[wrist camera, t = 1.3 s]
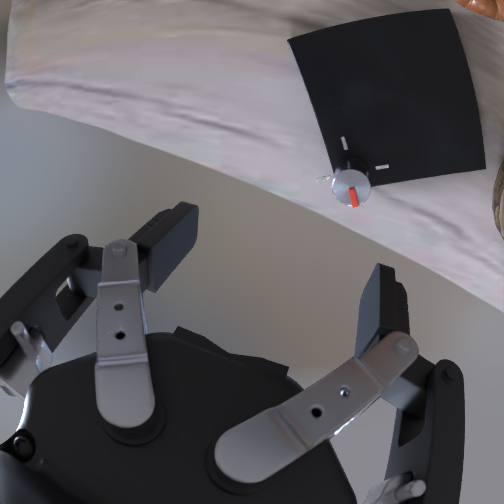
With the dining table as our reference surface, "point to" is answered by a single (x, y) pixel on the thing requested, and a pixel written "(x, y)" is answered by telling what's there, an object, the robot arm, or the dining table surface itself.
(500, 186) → the tan disc
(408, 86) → the hob
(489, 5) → the brown segmented ring
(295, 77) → the dining table surface
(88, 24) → the dining table surface
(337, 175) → the hob knob
